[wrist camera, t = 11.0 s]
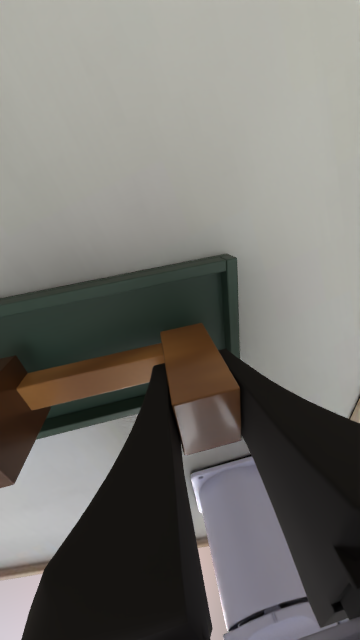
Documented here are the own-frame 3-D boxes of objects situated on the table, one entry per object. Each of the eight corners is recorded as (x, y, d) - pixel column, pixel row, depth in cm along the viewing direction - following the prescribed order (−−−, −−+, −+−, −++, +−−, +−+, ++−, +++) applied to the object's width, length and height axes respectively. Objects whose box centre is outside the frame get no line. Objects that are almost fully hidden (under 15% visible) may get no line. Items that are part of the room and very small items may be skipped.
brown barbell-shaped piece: (201, 313, 11) (240, 377, 7) (207, 369, 13) (242, 448, 8) (-25, 363, 10) (-153, 474, 6) (17, 416, 12) (-56, 530, 8)
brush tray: (227, 253, 12) (237, 257, 10) (233, 375, 16) (240, 388, 15) (-79, 314, 10) (-109, 326, 9) (17, 428, 15) (5, 447, 13)
